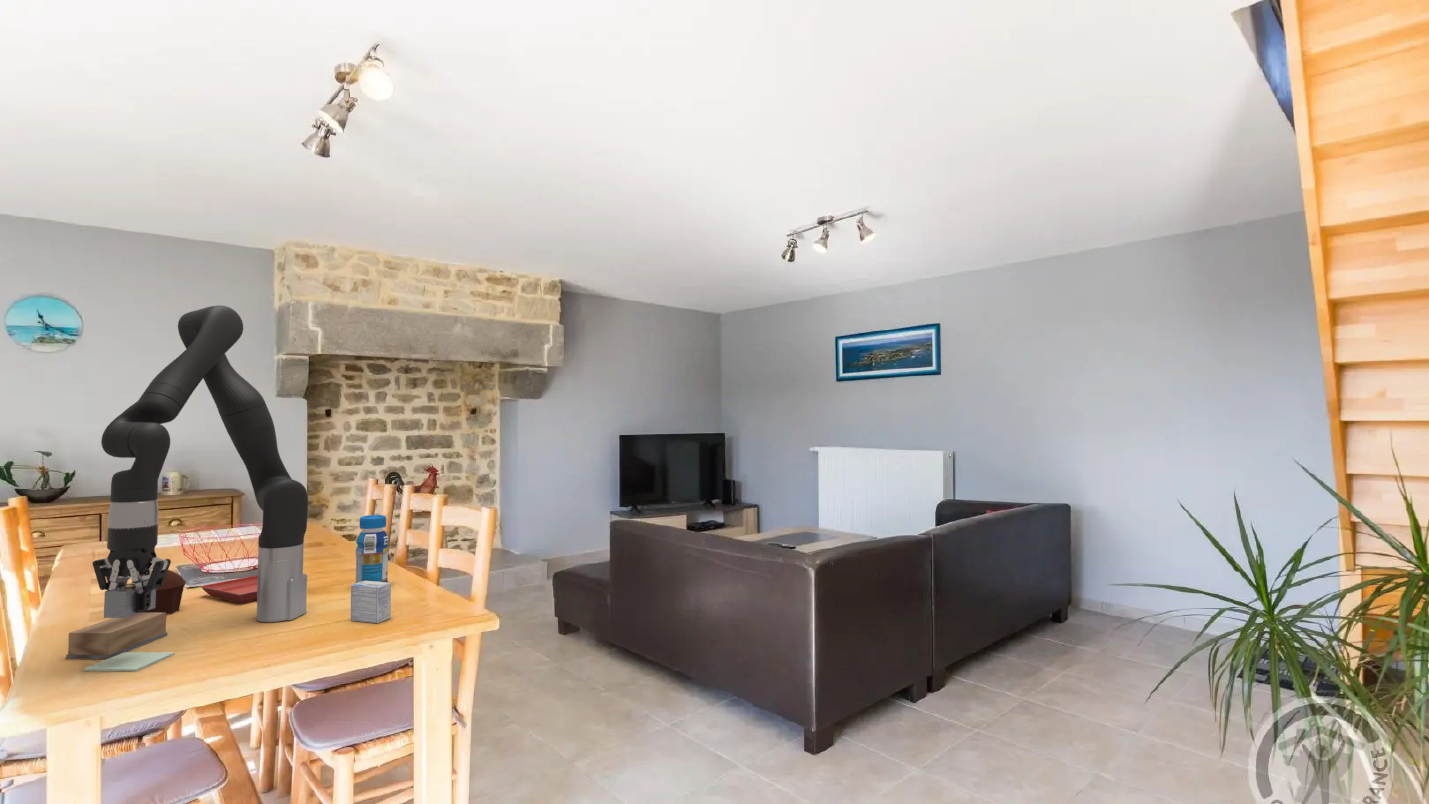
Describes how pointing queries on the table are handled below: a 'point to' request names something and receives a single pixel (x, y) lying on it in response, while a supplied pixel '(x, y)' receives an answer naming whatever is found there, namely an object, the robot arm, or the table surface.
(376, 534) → the beverage bottle
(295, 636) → the table surface
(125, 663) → the mat
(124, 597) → the block with brass knob
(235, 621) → the table surface
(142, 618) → the body
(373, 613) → the medicine box
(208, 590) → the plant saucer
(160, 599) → the muffin
